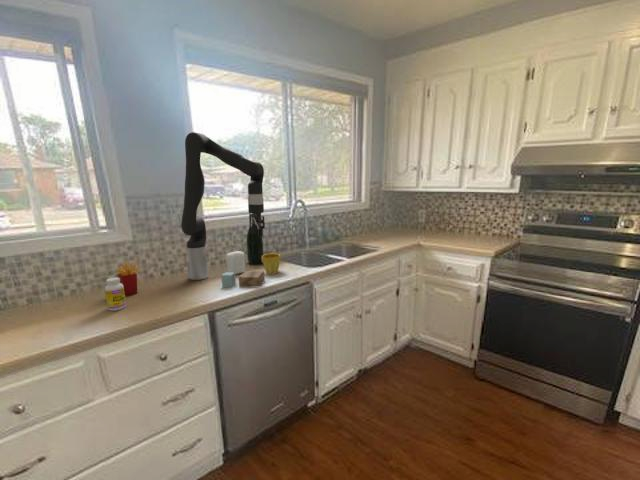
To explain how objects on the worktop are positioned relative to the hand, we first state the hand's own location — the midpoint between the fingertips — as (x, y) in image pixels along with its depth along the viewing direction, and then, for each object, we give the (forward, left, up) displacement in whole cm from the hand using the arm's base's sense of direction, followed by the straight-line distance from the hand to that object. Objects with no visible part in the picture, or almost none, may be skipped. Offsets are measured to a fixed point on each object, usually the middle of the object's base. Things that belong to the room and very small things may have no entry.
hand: (257, 235), depth 164 cm
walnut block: (-3, -5, -24) cm, 25 cm away
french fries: (-58, -19, -24) cm, 65 cm away
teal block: (-14, -8, -24) cm, 29 cm away
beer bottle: (-12, +34, -24) cm, 43 cm away
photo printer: (-17, +12, -24) cm, 32 cm away
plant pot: (+3, +13, -24) cm, 27 cm away
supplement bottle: (-52, -37, -24) cm, 68 cm away
